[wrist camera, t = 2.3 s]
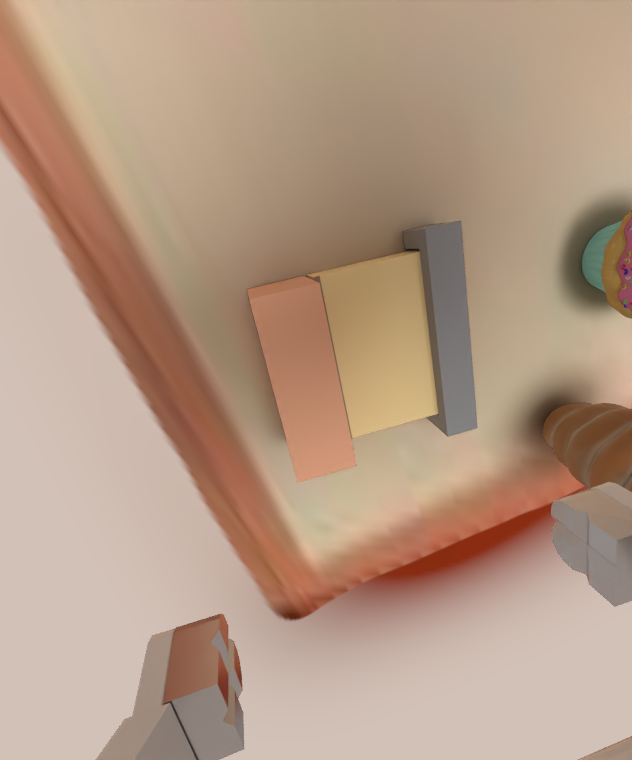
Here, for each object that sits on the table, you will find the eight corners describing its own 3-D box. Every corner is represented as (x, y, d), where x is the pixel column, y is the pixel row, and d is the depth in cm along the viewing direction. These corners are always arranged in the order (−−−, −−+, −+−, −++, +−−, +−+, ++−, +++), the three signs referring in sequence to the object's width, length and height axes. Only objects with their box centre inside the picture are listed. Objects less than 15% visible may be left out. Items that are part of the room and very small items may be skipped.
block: (303, 275, 28) (319, 282, 23) (336, 427, 32) (356, 465, 27) (247, 289, 28) (249, 299, 22) (287, 441, 32) (297, 482, 26)
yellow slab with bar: (438, 223, 29) (465, 219, 25) (456, 408, 34) (481, 426, 30) (302, 254, 28) (311, 255, 24) (342, 440, 33) (354, 463, 29)
